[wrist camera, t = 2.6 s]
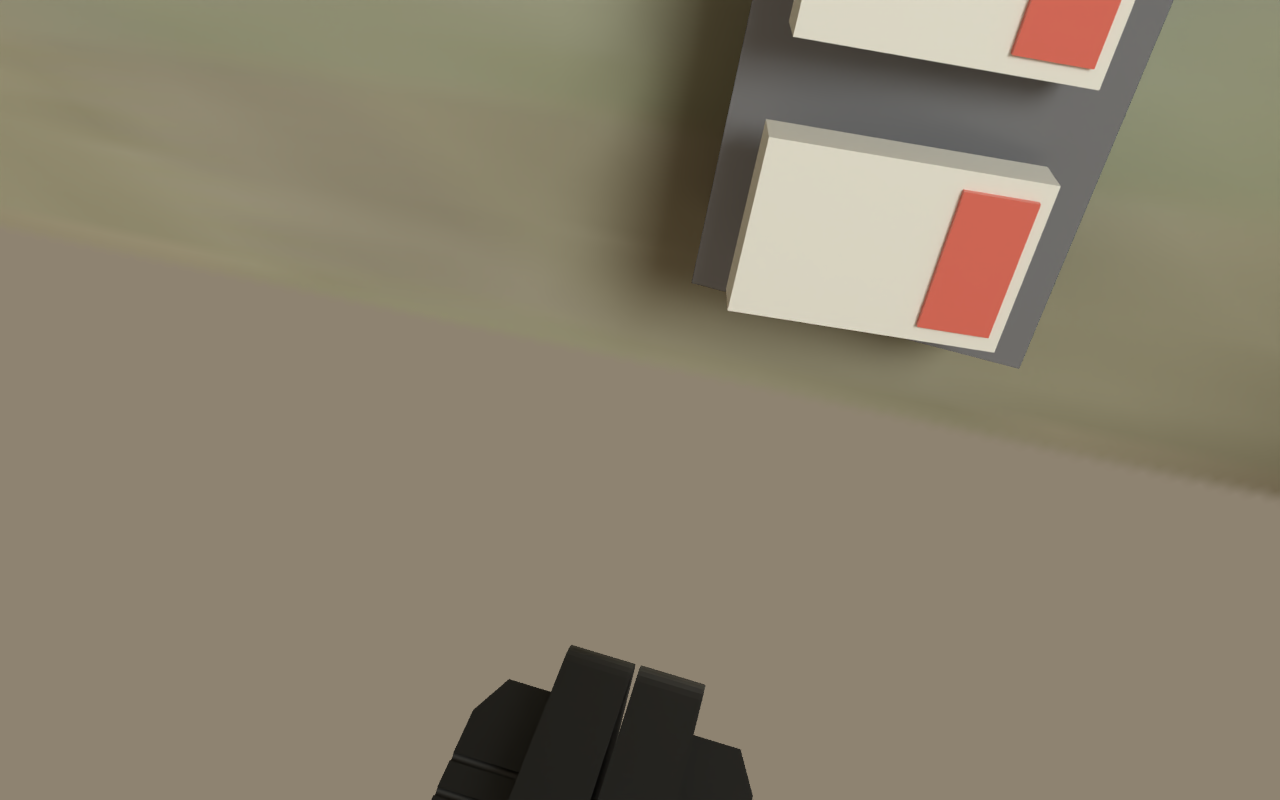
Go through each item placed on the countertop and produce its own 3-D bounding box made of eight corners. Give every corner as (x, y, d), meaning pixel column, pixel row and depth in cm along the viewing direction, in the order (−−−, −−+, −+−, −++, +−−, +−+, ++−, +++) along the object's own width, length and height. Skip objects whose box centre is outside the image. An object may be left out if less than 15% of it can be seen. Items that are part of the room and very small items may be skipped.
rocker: (1047, 166, 24) (1062, 188, 23) (984, 329, 26) (995, 355, 25) (765, 119, 23) (769, 139, 22) (725, 288, 26) (727, 313, 25)
